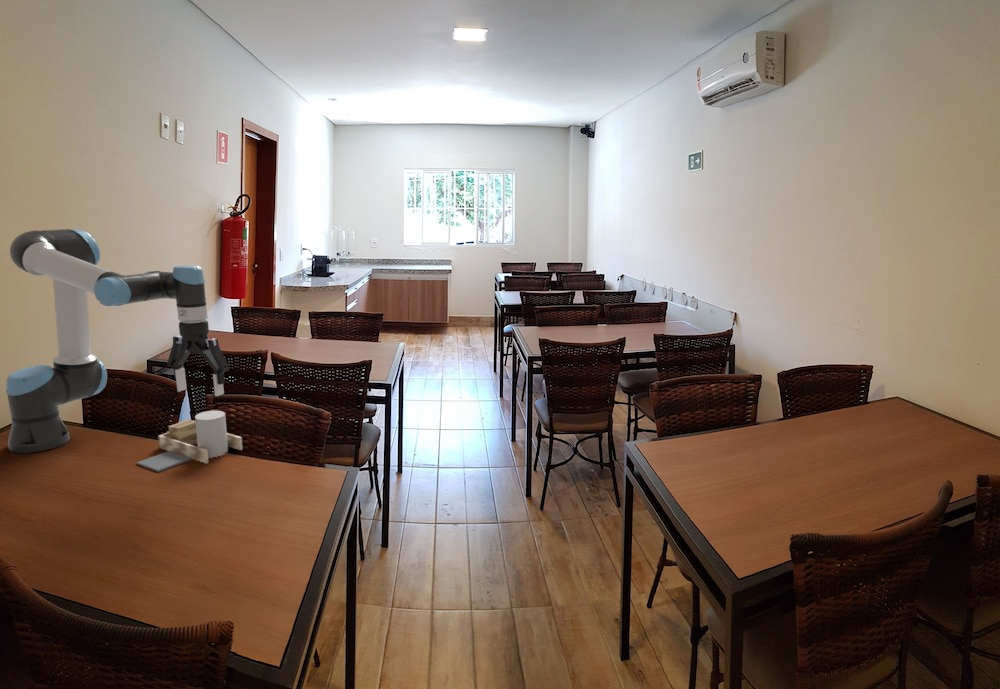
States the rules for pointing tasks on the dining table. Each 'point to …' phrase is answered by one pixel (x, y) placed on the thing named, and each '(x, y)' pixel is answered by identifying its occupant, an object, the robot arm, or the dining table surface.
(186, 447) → the rack
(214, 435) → the cup
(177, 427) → the offcut top
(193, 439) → the offcut low
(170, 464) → the mat
